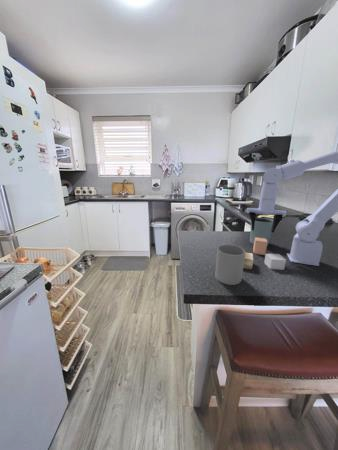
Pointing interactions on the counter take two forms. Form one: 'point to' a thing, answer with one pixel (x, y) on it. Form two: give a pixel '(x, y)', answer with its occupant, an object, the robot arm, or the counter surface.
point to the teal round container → (261, 229)
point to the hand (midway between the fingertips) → (262, 230)
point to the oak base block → (248, 261)
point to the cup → (229, 264)
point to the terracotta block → (260, 246)
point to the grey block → (275, 261)
